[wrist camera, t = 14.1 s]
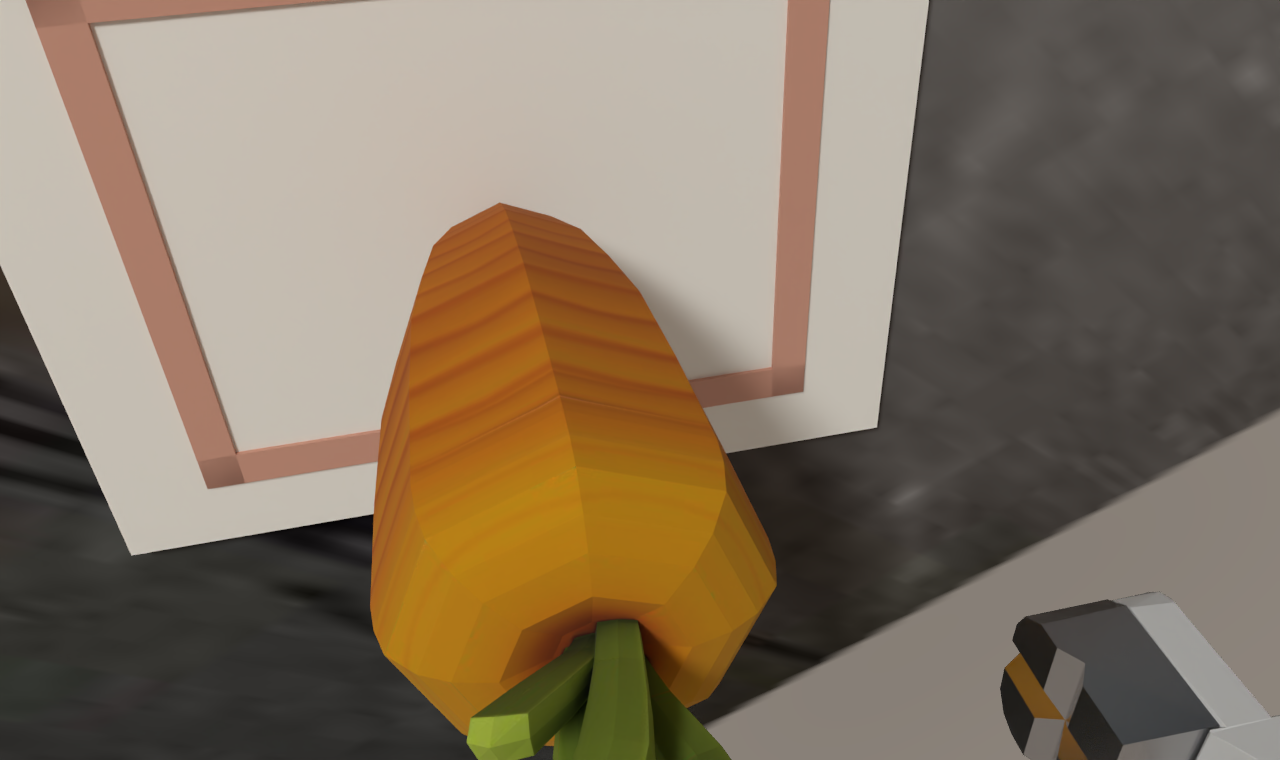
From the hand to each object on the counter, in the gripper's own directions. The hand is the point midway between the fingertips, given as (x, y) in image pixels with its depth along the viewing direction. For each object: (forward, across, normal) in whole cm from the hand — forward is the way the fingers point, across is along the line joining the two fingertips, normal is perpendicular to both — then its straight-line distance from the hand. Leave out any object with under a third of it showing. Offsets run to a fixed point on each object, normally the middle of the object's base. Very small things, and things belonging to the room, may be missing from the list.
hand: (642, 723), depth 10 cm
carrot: (+13, 0, 0) cm, 13 cm away
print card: (+13, +1, 0) cm, 13 cm away
